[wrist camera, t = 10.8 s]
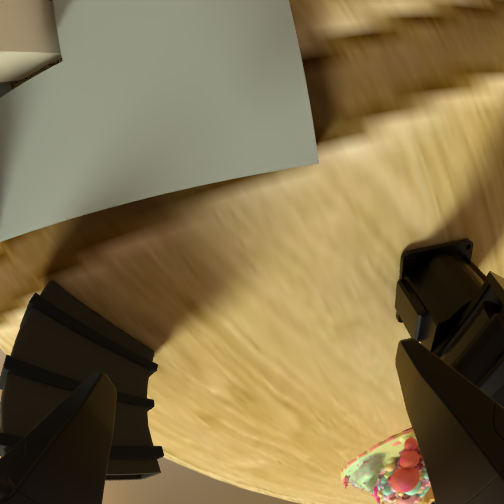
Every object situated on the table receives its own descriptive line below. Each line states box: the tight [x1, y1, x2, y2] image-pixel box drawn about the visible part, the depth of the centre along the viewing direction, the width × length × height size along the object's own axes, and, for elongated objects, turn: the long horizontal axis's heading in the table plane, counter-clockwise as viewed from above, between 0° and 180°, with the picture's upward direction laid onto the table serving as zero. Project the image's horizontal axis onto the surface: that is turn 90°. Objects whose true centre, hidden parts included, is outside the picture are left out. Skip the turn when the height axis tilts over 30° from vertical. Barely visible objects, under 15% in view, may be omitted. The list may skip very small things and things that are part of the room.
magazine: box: [0, 281, 164, 480], centre depth 20 cm, size 4×13×15 cm, turn 47°
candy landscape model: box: [341, 428, 435, 504], centre depth 37 cm, size 25×24×9 cm
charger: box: [0, 0, 62, 82], centre depth 10 cm, size 4×4×8 cm
